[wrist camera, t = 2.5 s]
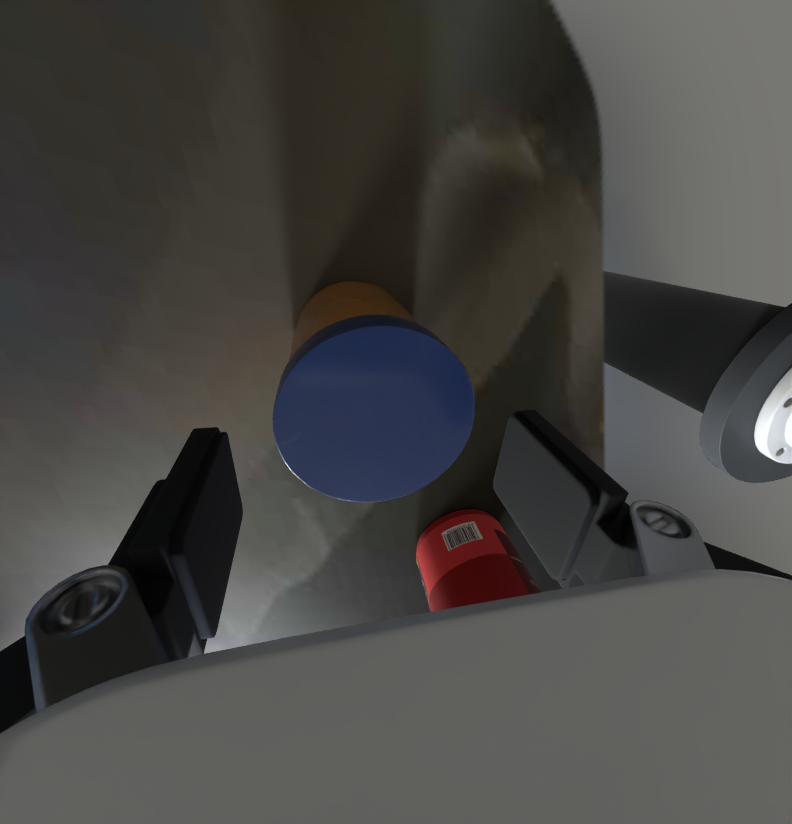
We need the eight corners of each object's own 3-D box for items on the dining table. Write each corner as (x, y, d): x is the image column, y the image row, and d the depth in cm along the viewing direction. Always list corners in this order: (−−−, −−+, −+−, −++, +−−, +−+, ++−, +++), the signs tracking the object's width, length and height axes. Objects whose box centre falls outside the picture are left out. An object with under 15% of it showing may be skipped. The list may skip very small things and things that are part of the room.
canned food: (396, 558, 31) (431, 709, 21) (451, 493, 28) (518, 633, 19) (461, 577, 34) (516, 716, 25) (515, 520, 31) (600, 651, 22)
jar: (398, 267, 19) (455, 304, 11) (419, 377, 23) (473, 464, 15) (276, 297, 19) (246, 359, 11) (316, 405, 22) (315, 510, 14)
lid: (452, 290, 12) (468, 299, 11) (471, 452, 16) (484, 472, 15) (243, 344, 12) (235, 359, 10) (313, 498, 15) (312, 523, 14)
